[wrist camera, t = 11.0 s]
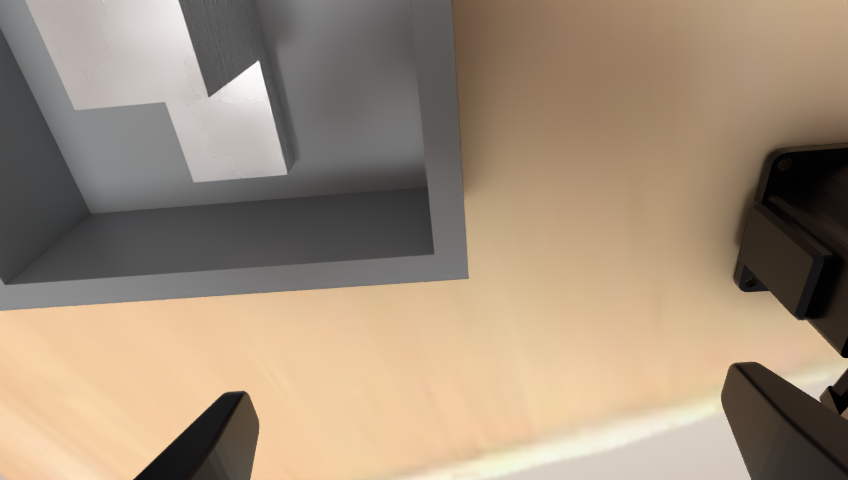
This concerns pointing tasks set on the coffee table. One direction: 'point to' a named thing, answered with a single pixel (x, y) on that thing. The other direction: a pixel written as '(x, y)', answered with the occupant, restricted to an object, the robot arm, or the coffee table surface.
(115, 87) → the grey stepped block
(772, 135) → the coffee table surface
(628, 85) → the coffee table surface
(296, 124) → the open box
